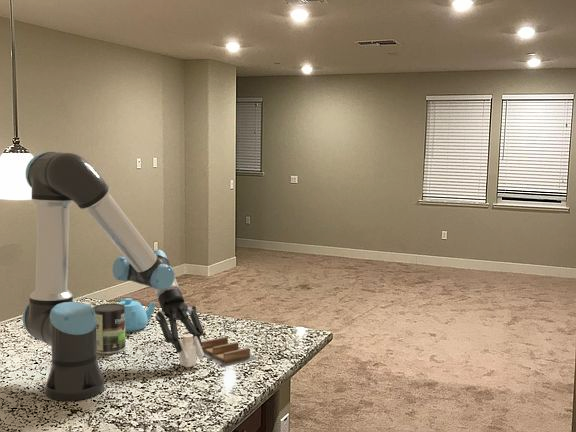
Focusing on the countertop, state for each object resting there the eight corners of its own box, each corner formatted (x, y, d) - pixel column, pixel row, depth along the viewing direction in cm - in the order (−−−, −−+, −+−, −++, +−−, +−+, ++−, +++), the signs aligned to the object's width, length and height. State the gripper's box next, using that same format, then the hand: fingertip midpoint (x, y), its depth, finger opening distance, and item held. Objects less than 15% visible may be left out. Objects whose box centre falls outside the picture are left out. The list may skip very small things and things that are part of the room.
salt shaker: (188, 362, 194) (188, 332, 193) (197, 365, 191) (197, 335, 190) (178, 365, 191) (178, 335, 190) (187, 368, 188) (187, 338, 187)
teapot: (123, 319, 239) (122, 291, 238) (157, 323, 234) (157, 295, 233) (98, 330, 225) (97, 301, 223) (134, 335, 220) (134, 305, 218)
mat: (259, 359, 197) (259, 358, 197) (223, 368, 189) (223, 367, 189) (227, 343, 212) (227, 342, 212) (193, 350, 204) (193, 349, 204)
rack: (202, 350, 204) (202, 341, 203) (225, 345, 209) (225, 336, 209) (225, 363, 192) (225, 354, 192) (249, 357, 197) (249, 348, 197)
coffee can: (131, 345, 209) (130, 304, 207) (116, 355, 199) (116, 312, 197) (102, 342, 211) (102, 302, 209) (87, 352, 201) (86, 310, 199)
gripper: (189, 296, 206) (214, 358, 195) (139, 304, 196) (163, 370, 185) (197, 283, 202) (223, 347, 190) (146, 291, 191) (171, 358, 180)
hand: (193, 358), depth 188 cm, fingers closed on salt shaker, 4 cm apart
